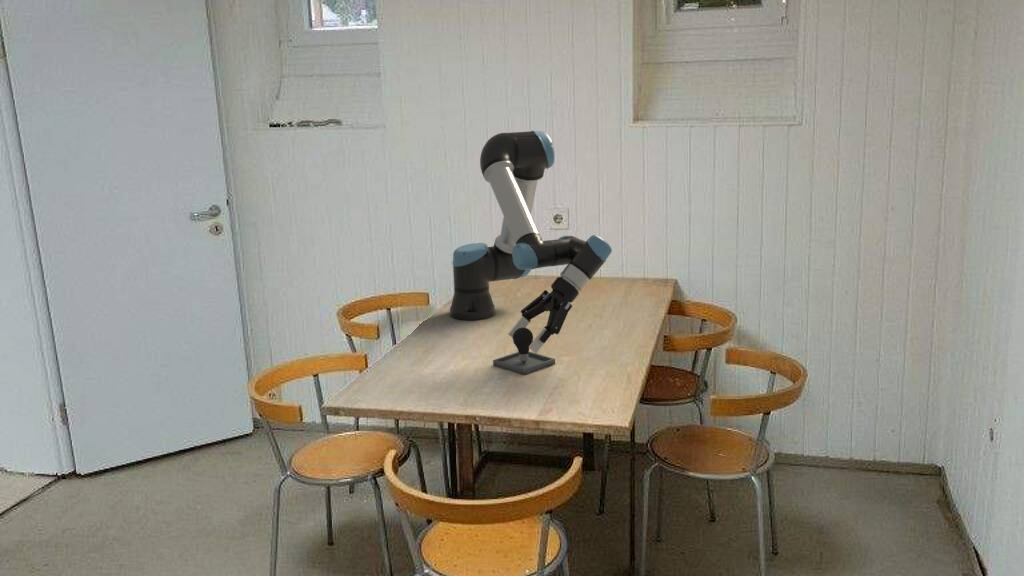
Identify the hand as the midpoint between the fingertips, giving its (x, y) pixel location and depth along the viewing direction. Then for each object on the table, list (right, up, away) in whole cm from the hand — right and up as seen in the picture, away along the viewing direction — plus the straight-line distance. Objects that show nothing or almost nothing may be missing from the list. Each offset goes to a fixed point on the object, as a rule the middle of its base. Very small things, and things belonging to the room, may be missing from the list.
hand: (521, 343), depth 251 cm
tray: (+1, -6, +2) cm, 6 cm away
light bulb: (+1, -5, +2) cm, 6 cm away
